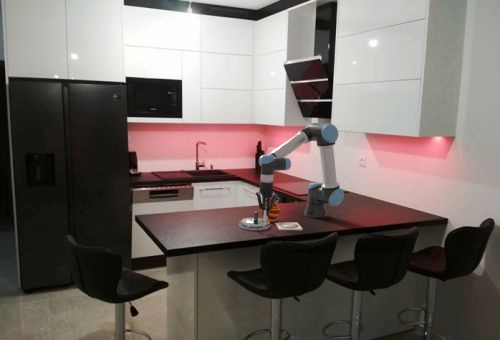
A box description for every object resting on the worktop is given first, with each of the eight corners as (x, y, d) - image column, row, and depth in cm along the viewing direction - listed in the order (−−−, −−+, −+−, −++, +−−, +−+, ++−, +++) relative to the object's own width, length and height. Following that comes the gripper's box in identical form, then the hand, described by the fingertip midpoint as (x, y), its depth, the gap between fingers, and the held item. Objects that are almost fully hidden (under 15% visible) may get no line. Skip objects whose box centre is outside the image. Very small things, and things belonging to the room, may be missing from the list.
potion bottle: (268, 218, 274) (269, 195, 272) (282, 220, 269) (283, 197, 267) (260, 221, 265) (261, 198, 263) (275, 223, 260) (275, 200, 258)
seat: (297, 224, 261) (297, 222, 261) (302, 230, 247) (302, 228, 247) (275, 224, 259) (275, 222, 259) (279, 230, 245) (279, 228, 245)
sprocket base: (267, 222, 263) (267, 220, 263) (272, 230, 244) (272, 229, 244) (237, 222, 260) (237, 220, 260) (240, 230, 242) (240, 229, 242)
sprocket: (267, 220, 261) (267, 206, 260) (271, 227, 245) (272, 213, 244) (238, 220, 259) (238, 206, 258) (240, 227, 243) (241, 213, 241)
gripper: (279, 181, 240) (277, 221, 243) (258, 179, 245) (257, 218, 248) (275, 183, 233) (273, 223, 236) (254, 181, 238) (252, 221, 242)
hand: (265, 221), depth 242 cm, fingers closed
